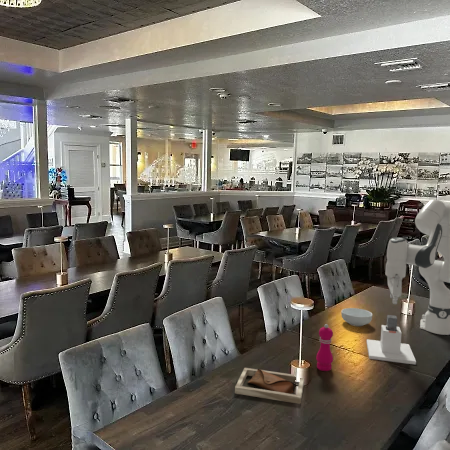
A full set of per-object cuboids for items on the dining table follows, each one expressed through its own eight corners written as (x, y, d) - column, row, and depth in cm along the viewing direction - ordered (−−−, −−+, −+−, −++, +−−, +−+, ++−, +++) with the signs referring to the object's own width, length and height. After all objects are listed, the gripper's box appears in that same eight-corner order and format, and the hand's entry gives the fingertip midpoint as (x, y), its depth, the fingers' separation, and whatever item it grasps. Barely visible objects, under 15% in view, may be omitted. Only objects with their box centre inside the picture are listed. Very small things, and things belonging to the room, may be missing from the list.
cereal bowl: (374, 322, 240) (375, 311, 239) (367, 331, 226) (368, 319, 225) (345, 316, 249) (346, 305, 248) (337, 325, 235) (337, 313, 234)
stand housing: (366, 342, 211) (367, 318, 210) (408, 347, 206) (410, 323, 204) (369, 358, 192) (370, 333, 190) (415, 364, 187) (417, 338, 185)
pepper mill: (332, 372, 178) (335, 327, 175) (315, 370, 179) (318, 326, 177) (332, 365, 185) (334, 322, 182) (315, 363, 186) (317, 320, 184)
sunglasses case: (245, 382, 166) (251, 365, 168) (254, 384, 171) (259, 368, 173) (284, 398, 155) (289, 380, 157) (292, 400, 160) (297, 383, 162)
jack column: (384, 346, 201) (386, 314, 199) (394, 347, 200) (396, 315, 198) (385, 349, 197) (387, 317, 195) (395, 351, 196) (397, 318, 194)
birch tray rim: (244, 373, 175) (244, 367, 175) (304, 382, 169) (304, 376, 169) (234, 393, 159) (235, 387, 159) (300, 403, 153) (300, 397, 152)
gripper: (406, 277, 183) (403, 307, 185) (399, 268, 203) (397, 295, 205) (391, 276, 185) (388, 306, 187) (385, 267, 205) (383, 294, 206)
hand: (393, 300), depth 196 cm, fingers open, 8 cm apart
